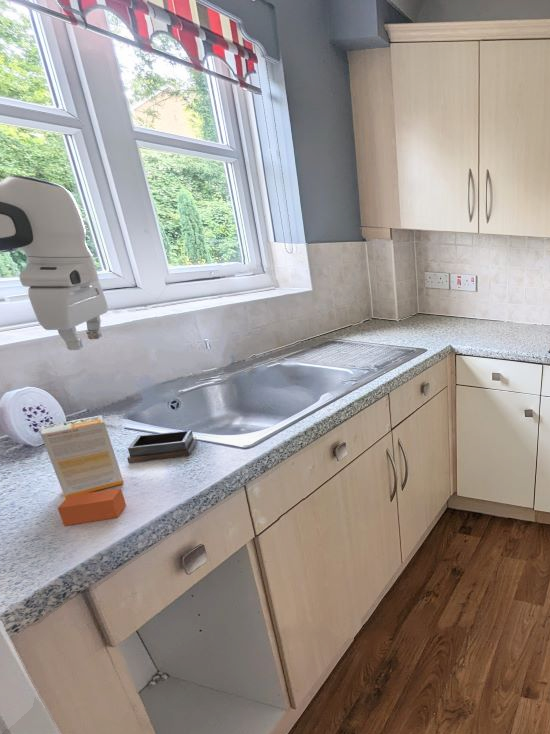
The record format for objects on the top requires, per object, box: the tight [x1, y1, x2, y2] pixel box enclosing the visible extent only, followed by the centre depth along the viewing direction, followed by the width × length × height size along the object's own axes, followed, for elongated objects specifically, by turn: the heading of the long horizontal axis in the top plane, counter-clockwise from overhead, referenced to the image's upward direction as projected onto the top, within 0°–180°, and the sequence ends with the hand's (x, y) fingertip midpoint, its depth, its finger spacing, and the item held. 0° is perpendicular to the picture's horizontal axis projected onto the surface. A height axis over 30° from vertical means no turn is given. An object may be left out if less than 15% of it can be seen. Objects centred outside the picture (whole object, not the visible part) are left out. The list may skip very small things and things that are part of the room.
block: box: [57, 487, 127, 527], centre depth 77 cm, size 7×4×4 cm, turn 114°
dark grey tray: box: [127, 429, 198, 464], centre depth 99 cm, size 10×8×3 cm
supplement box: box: [40, 414, 124, 499], centre depth 83 cm, size 8×5×13 cm, turn 135°
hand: (86, 343), depth 90 cm, fingers open, 8 cm apart
